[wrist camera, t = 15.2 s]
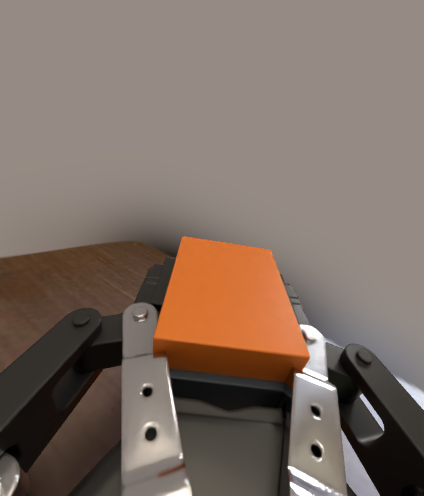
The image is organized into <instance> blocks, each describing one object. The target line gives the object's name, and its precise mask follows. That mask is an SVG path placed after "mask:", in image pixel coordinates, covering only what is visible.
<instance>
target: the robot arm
mask: <svg viewBox="0 0 424 496" xmlns="http://www.w3.org/2000/svg"><path fill="white" fill-rule="evenodd" d="M175 260H176V258H172V257H166V259H165V262H164V265H156V264H155V265H154V266H153V267H151V268H150V269H149V270H148V273H147V275H146V277H145V279H144V282H143V284H142V286H141V288H140V291H139V293H138V295H137V298H136V300H135V302H134V304H133V305H130V306H129V307H128V308H126V310H125V311H124V312H123V313H121V314H117V315H111V316H103V317H101V315H100V313H99V312H98V311H97V310H95V309H91V308H82V309H78V310H75V311H73V312H71V313H69V314H68V315H67V316H65V317H64V318H63V319H62V320H61V321H60V322H59V323H57V324H56V325H55V326H54V327H53V328H52V329H51V330H49V331H48V332H47V333H46V334H45V335H44V336H43V337H41V338H40V339H39V340H38V341H37V342H36V343H35V344H33V345H32V346H31V347H30V348H29V349H28V350H27V351H25V352H24V353H23V354H22V355H21V356H20V357H19V358H17V359H16V360H15V361H14V362H13V363H12V364H11V365H9V366H8V367H7V368H6V369H5V370H4V371H3V372H1V373H0V496H28V492H29V479H28V476H27V475H26V473H27V471H28V470H29V469H30V467H31V466H32V465H33V463H34V462H35V460H36V459H37V458H38V456H39V455H40V454H41V452H42V451H43V450H44V448H45V447H46V446H47V444H48V443H49V442H50V440H51V439H52V438H53V436H54V435H55V434H56V432H57V431H58V430H59V428H60V427H61V425H62V424H63V423H64V421H65V420H66V419H67V417H68V416H69V415H70V413H71V412H72V411H73V409H74V408H75V407H76V405H77V404H78V403H79V401H80V400H81V399H82V397H83V396H84V395H85V393H86V392H87V390H88V389H89V388H90V386H91V385H92V384H93V382H94V381H95V380H96V378H97V377H98V376H99V374H100V373H101V372H102V370H103V369H105V368H110V367H115V366H120V365H122V439H121V440H120V441H119V442H118V443H117V444H116V445H115V446H114V447H113V448H112V449H111V450H110V451H109V452H108V453H107V454H106V455H105V456H104V457H103V458H102V460H101V461H100V462H99V463H98V464H97V465H96V466H95V467H94V468H93V469H92V470H91V471H90V472H89V473H88V474H87V475H86V476H85V477H84V478H83V479H82V480H81V481H80V482H79V484H78V485H77V486H76V487H75V488H74V489H73V490H72V491H71V492H70V493H69V494H68V495H67V496H357V495H356V494H355V493H354V492H353V490H352V489H351V488H350V487H349V486H348V484H347V483H346V475H345V466H344V456H343V446H342V436H341V429H342V430H343V432H344V434H345V436H346V437H347V439H348V441H349V442H350V444H351V446H352V448H353V449H354V451H355V453H356V454H357V456H358V458H359V460H360V461H361V463H362V465H363V467H364V468H365V470H366V472H367V473H368V475H369V477H370V479H371V480H372V482H373V484H374V486H375V487H376V489H377V491H378V492H379V494H380V496H424V410H423V409H422V408H421V407H420V406H419V405H418V403H417V402H416V401H415V400H414V399H413V398H412V397H411V395H410V394H409V393H408V392H407V391H406V390H405V389H404V387H403V386H402V385H401V384H400V383H399V382H398V381H397V380H396V378H395V377H394V376H393V375H392V374H391V373H390V372H389V370H388V369H387V368H386V367H385V366H384V365H383V364H382V363H381V361H380V360H379V359H378V358H377V357H376V356H375V355H374V354H373V353H372V352H371V351H370V350H368V349H367V348H365V347H363V346H361V345H358V344H349V345H347V346H346V348H345V349H342V348H339V347H337V346H334V345H332V344H329V343H327V342H325V339H324V337H323V336H322V334H321V333H320V332H319V331H318V330H316V329H315V328H313V327H311V326H310V324H309V322H308V319H307V317H306V315H305V312H304V310H303V308H302V306H301V303H300V301H299V299H298V296H297V294H296V291H295V290H294V289H293V288H292V287H291V286H290V284H286V283H284V280H283V277H282V275H281V274H280V276H281V279H282V282H283V284H284V287H285V290H286V292H287V295H288V298H289V300H290V303H291V306H292V308H293V311H294V314H295V317H296V319H297V322H298V325H299V327H300V330H301V333H302V335H303V338H304V341H305V343H306V346H307V349H308V352H309V354H310V360H309V361H308V363H307V365H306V366H305V368H304V370H303V371H302V370H299V369H297V368H295V367H292V369H291V370H290V372H289V374H288V376H287V377H286V379H285V381H284V385H283V392H282V394H281V395H280V397H279V399H278V400H277V402H276V404H275V406H274V407H273V408H270V407H261V406H252V407H247V408H242V409H236V410H231V411H227V410H224V409H222V408H219V407H217V406H214V405H212V404H209V403H207V402H205V401H202V400H199V399H190V398H181V397H173V391H172V385H171V379H170V373H169V367H168V361H167V355H166V352H165V351H162V352H156V353H152V349H153V336H154V332H155V329H156V325H157V322H158V318H159V315H160V312H161V308H162V305H163V301H164V298H165V295H166V291H167V288H168V284H169V281H170V278H171V274H172V271H173V267H174V264H175ZM362 393H363V394H364V396H365V397H366V399H367V400H368V401H369V403H370V404H371V406H372V407H373V408H374V410H375V411H376V412H377V414H378V415H379V417H380V418H381V420H382V422H383V424H384V431H383V430H382V428H381V427H380V426H379V424H378V423H377V421H376V420H375V418H374V417H373V416H372V414H371V413H370V411H369V410H368V408H367V407H366V406H365V404H364V403H363V401H362V400H361V398H360V397H359V396H360V395H361V394H362Z"/></svg>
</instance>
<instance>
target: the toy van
mask: <svg viewBox="0 0 424 496" xmlns="http://www.w3.org/2000/svg"><path fill="white" fill-rule="evenodd" d="M162 351H165V352H166V355H167V361H168V367H169V373H170V379H171V385H172V391H173V397H181V398H190V399H199V400H202V401H205V402H207V403H209V404H212V405H214V406H217V407H219V408H222V409H224V410H227V411H231V410H236V409H242V408H247V407H252V406H261V407H270V408H273V407H274V406H275V404H276V402H277V400H278V399H279V397H280V395H281V394H282V392H283V385H284V381H285V379H286V377H287V376H288V374H289V372H290V370H291V369H292V367H295V368H297V369H299V370H302V371H303V370H304V368H305V366H306V365H307V363H308V361H309V360H310V354H309V352H308V349H307V346H306V343H305V341H304V338H303V335H302V333H301V330H300V327H299V325H298V322H297V319H296V317H295V314H294V311H293V308H292V306H291V303H290V300H289V298H288V295H287V292H286V290H285V287H284V284H283V282H282V279H281V276H280V273H279V271H278V268H277V265H276V263H275V260H274V257H273V255H272V252H271V250H269V249H263V248H256V247H249V246H243V245H237V244H230V243H223V242H217V241H210V240H204V239H197V238H191V237H184V236H183V237H182V240H181V243H180V247H179V250H178V254H177V257H176V260H175V264H174V267H173V271H172V274H171V278H170V281H169V284H168V288H167V291H166V295H165V298H164V301H163V305H162V308H161V312H160V315H159V318H158V322H157V325H156V329H155V332H154V336H153V349H152V353H156V352H162Z"/></svg>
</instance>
